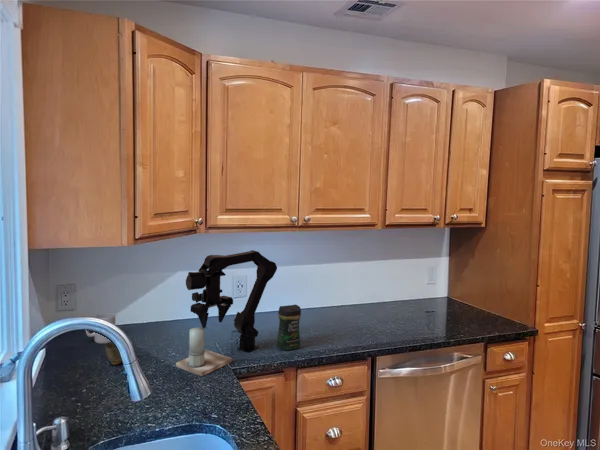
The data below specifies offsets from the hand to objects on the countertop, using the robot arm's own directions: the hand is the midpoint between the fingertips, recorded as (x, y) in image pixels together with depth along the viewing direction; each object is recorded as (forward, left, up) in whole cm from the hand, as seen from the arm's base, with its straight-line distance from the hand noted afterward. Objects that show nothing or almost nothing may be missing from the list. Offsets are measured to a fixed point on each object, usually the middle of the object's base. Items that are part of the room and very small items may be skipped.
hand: (212, 325), depth 177 cm
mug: (+17, -50, -13) cm, 55 cm away
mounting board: (+7, +3, -13) cm, 15 cm away
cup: (+27, -24, -13) cm, 39 cm away
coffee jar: (-27, +19, -13) cm, 36 cm away
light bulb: (+11, +3, -11) cm, 16 cm away
